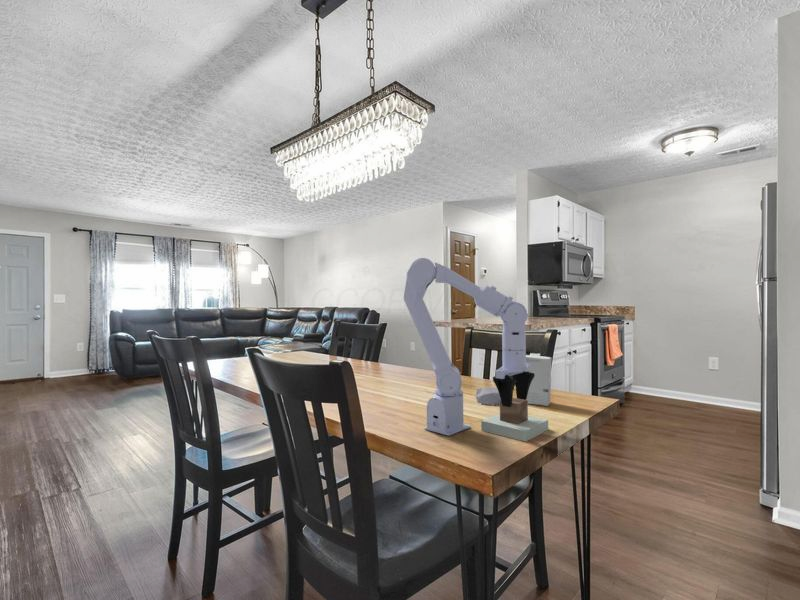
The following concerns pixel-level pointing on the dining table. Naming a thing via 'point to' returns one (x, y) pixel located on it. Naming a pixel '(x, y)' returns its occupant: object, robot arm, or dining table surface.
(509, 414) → the walnut cube
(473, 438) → the dining table surface
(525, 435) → the sage board block
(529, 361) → the skincare box
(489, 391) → the stone block
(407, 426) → the dining table surface
